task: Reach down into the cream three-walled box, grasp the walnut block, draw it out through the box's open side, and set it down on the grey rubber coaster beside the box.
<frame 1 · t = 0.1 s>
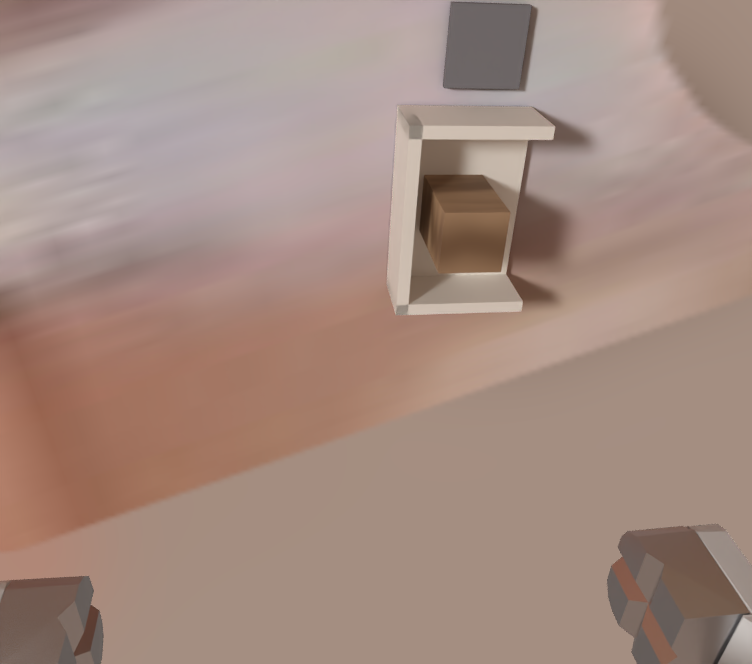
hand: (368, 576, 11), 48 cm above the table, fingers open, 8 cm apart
box: (454, 200, 59), on the table
block: (450, 202, 59), resting on box
coaster: (485, 46, 53), on the table
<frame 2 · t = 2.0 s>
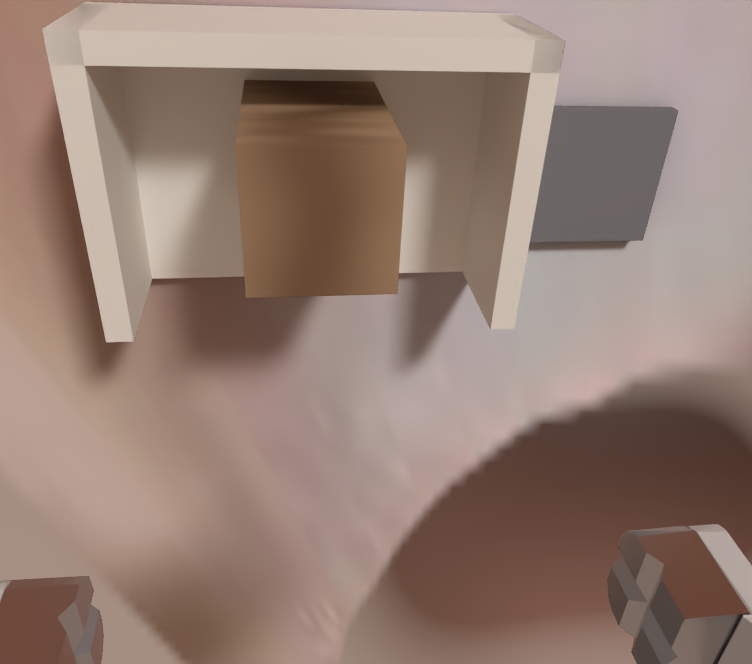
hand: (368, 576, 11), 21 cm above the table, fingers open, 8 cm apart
box: (310, 152, 29), on the table
block: (310, 144, 28), resting on box
coaster: (590, 174, 31), on the table
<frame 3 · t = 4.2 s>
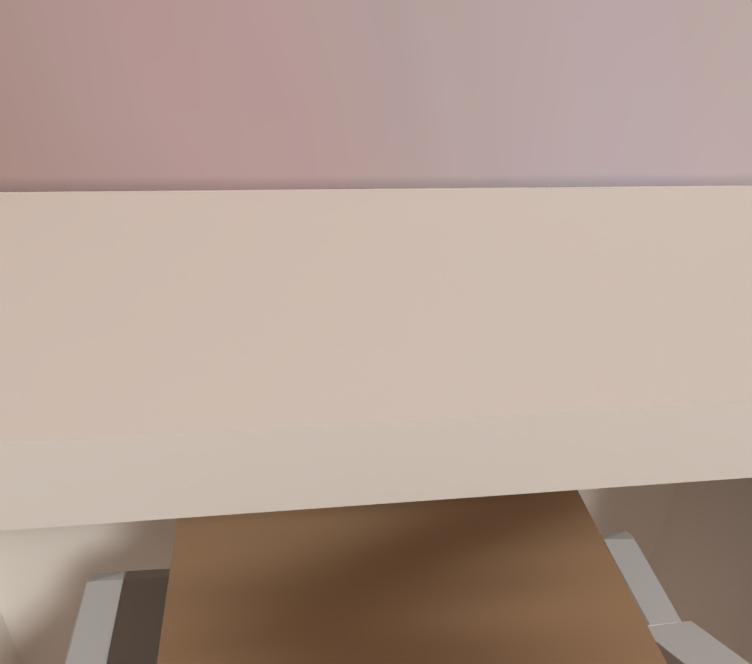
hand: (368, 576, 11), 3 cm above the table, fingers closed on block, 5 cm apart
box: (347, 455, 14), on the table
block: (350, 454, 13), resting on box, touching gripper
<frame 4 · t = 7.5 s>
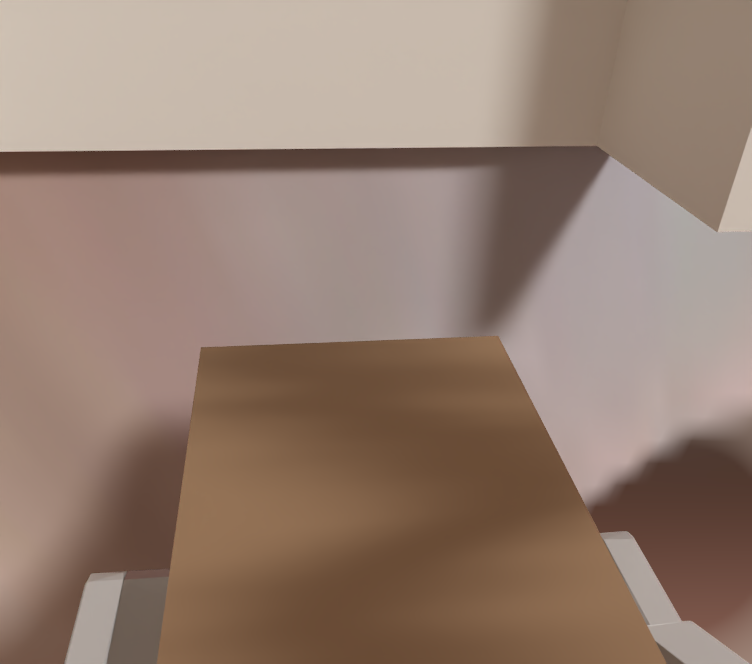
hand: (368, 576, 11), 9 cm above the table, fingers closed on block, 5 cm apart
block: (350, 452, 13), point 6 cm above the table, touching gripper
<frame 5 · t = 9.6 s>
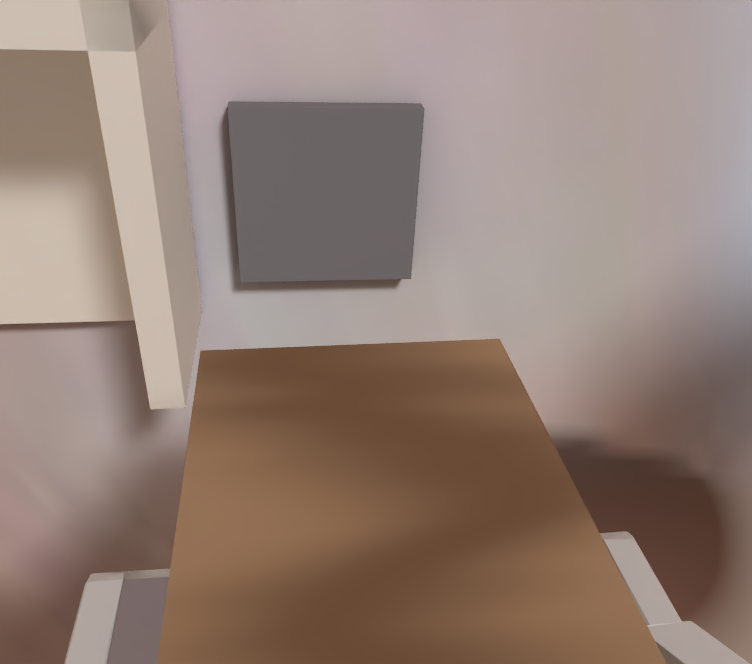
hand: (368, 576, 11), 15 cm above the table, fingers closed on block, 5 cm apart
block: (351, 456, 13), point 13 cm above the table, touching gripper
coaster: (326, 193, 23), on the table
when the fingers open (4 cm above the table, at t = 11.1 s): block drops 1 cm, resting on coaster.
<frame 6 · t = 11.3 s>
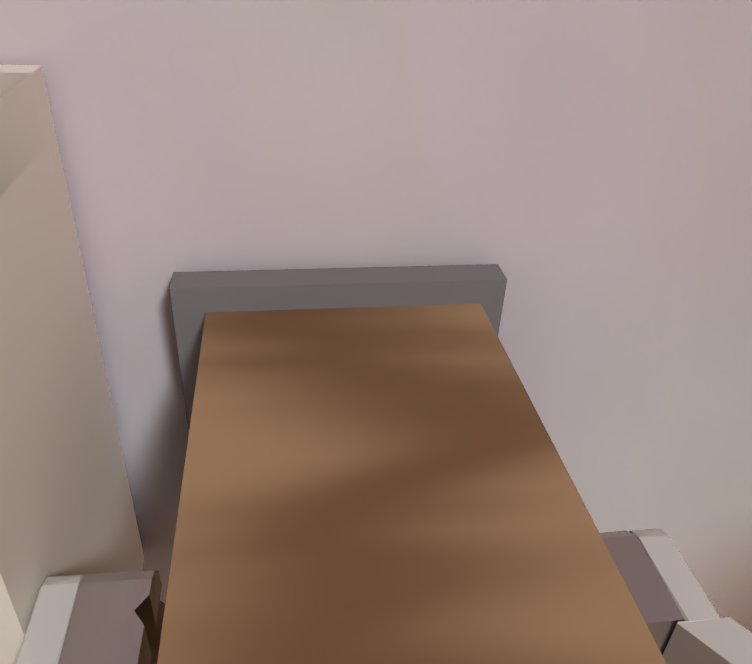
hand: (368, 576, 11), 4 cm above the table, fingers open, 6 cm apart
block: (344, 414, 14), point 1 cm above the table, touching coaster
coaster: (338, 396, 14), on the table
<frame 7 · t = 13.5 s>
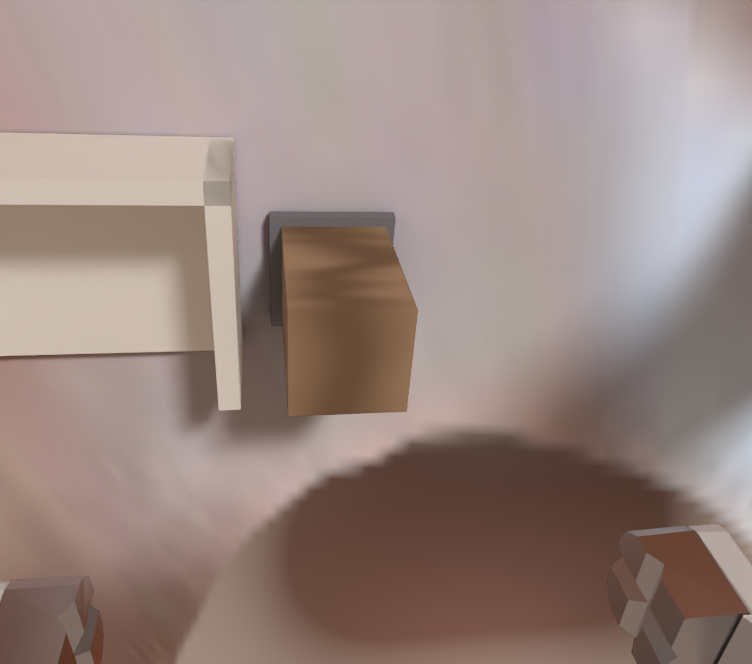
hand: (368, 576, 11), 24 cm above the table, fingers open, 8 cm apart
box: (64, 250, 32), on the table
block: (332, 273, 34), point 1 cm above the table, touching coaster
coaster: (330, 267, 35), on the table
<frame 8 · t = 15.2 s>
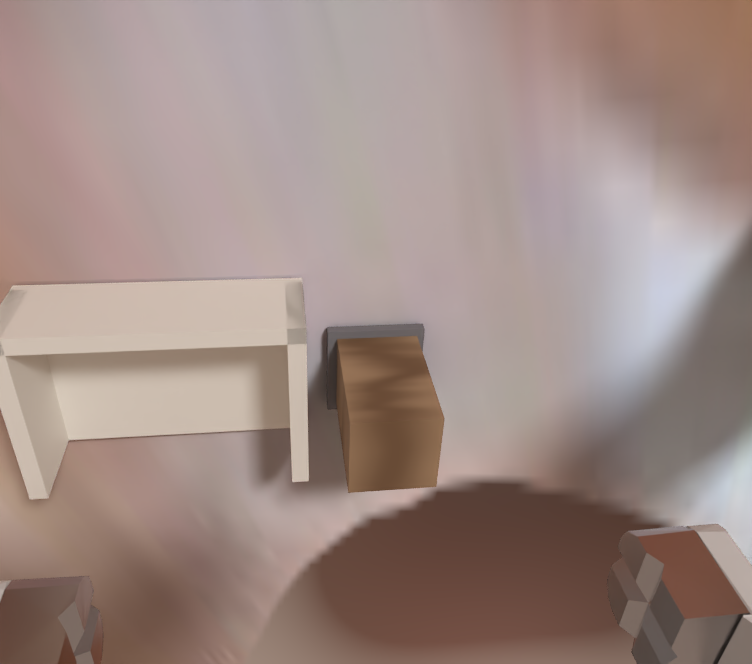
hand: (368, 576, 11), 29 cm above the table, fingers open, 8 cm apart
box: (172, 360, 42), on the table
block: (375, 370, 44), point 1 cm above the table, touching coaster
coaster: (373, 364, 45), on the table
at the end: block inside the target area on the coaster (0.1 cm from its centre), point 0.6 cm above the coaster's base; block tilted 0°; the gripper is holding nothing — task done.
